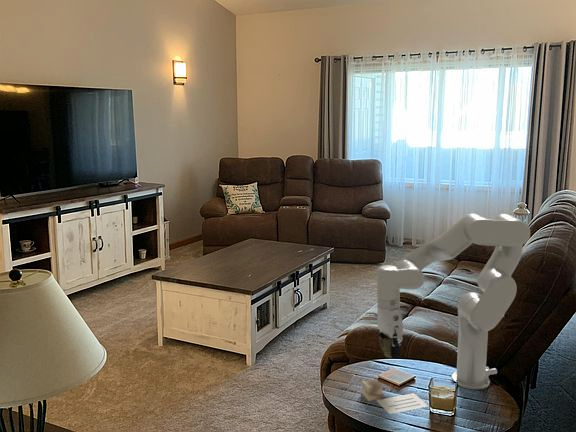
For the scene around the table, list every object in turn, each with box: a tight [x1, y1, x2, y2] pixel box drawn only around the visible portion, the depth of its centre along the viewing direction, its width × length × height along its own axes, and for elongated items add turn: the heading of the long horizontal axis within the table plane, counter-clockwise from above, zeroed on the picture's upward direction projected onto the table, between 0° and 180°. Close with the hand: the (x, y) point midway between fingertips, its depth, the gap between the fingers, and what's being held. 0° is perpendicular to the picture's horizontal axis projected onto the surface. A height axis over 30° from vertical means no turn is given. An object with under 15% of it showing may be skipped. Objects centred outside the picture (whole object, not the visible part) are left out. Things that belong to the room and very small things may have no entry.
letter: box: [375, 392, 429, 415], centre depth 185 cm, size 14×9×1 cm, turn 109°
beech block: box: [361, 378, 384, 402], centre depth 190 cm, size 5×5×5 cm
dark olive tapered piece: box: [378, 332, 397, 359], centre depth 197 cm, size 8×7×8 cm
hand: (389, 351), depth 197 cm, fingers closed on dark olive tapered piece, 6 cm apart
